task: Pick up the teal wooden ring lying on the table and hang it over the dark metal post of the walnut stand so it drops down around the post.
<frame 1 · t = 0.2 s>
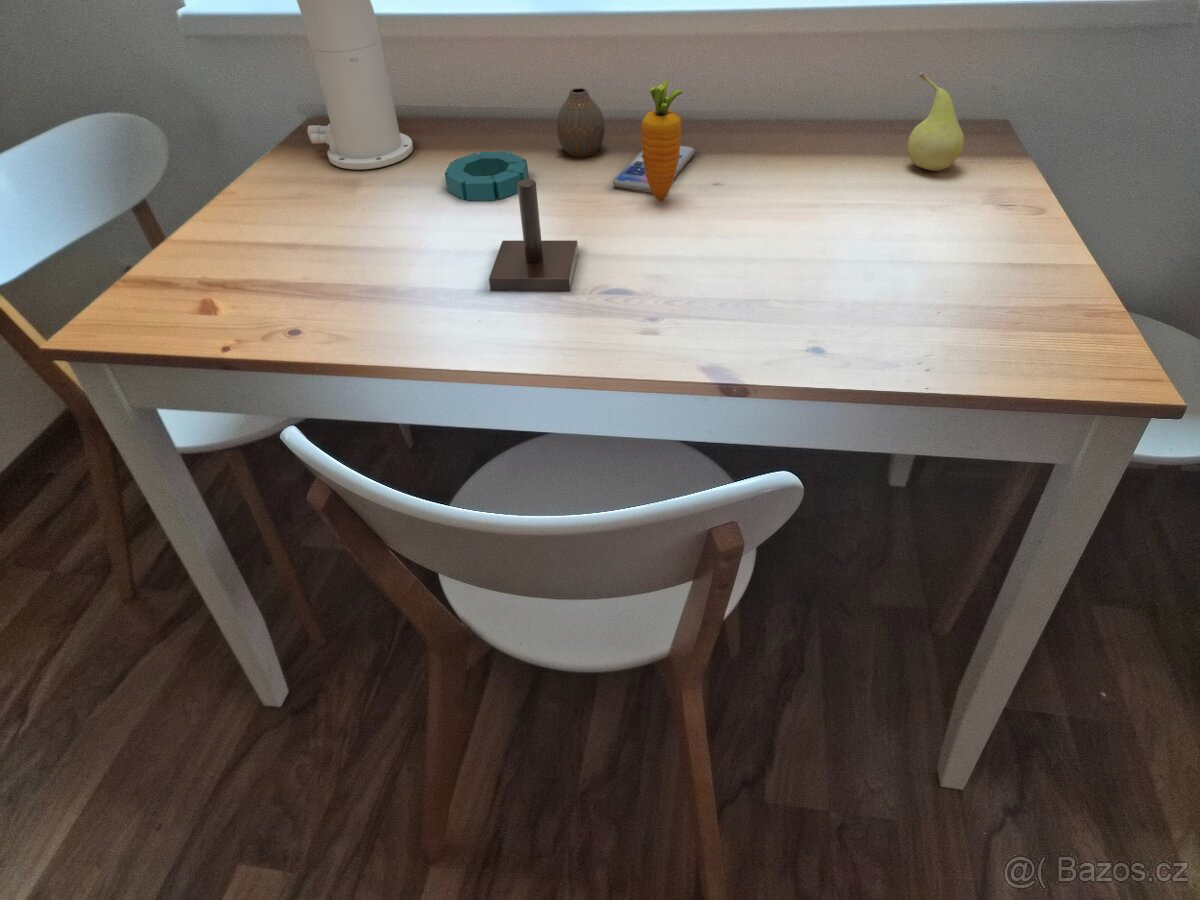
ring: (488, 183, 112), on the table
vase: (582, 153, 119), on the table
carrot: (660, 203, 106), on the table
smartphone: (655, 171, 113), on the table
fruit: (927, 170, 110), on the table
stand: (535, 270, 93), on the table
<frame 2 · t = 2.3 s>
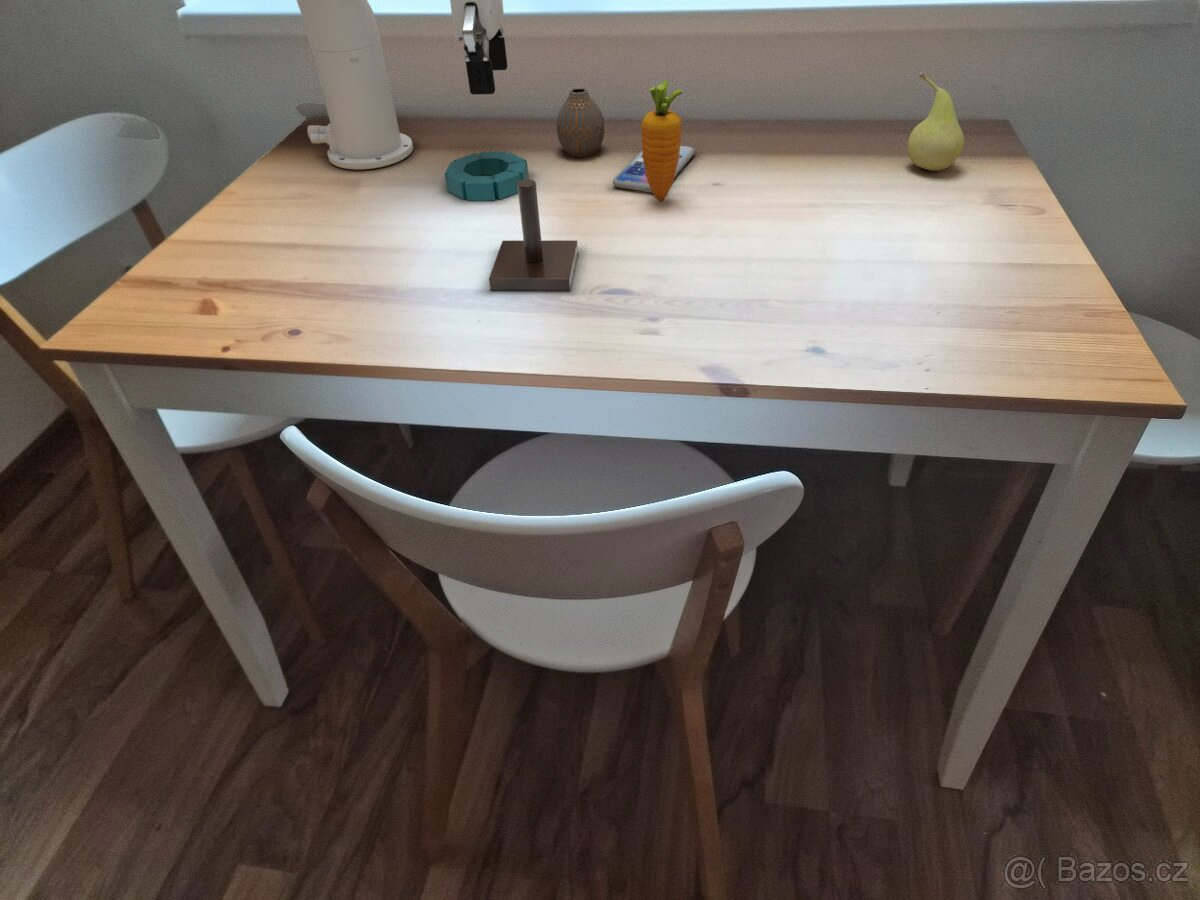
hand: (489, 81, 107), 12 cm above the table, tool pointing down, fingers open, 9 cm apart
nothing on the table moved.
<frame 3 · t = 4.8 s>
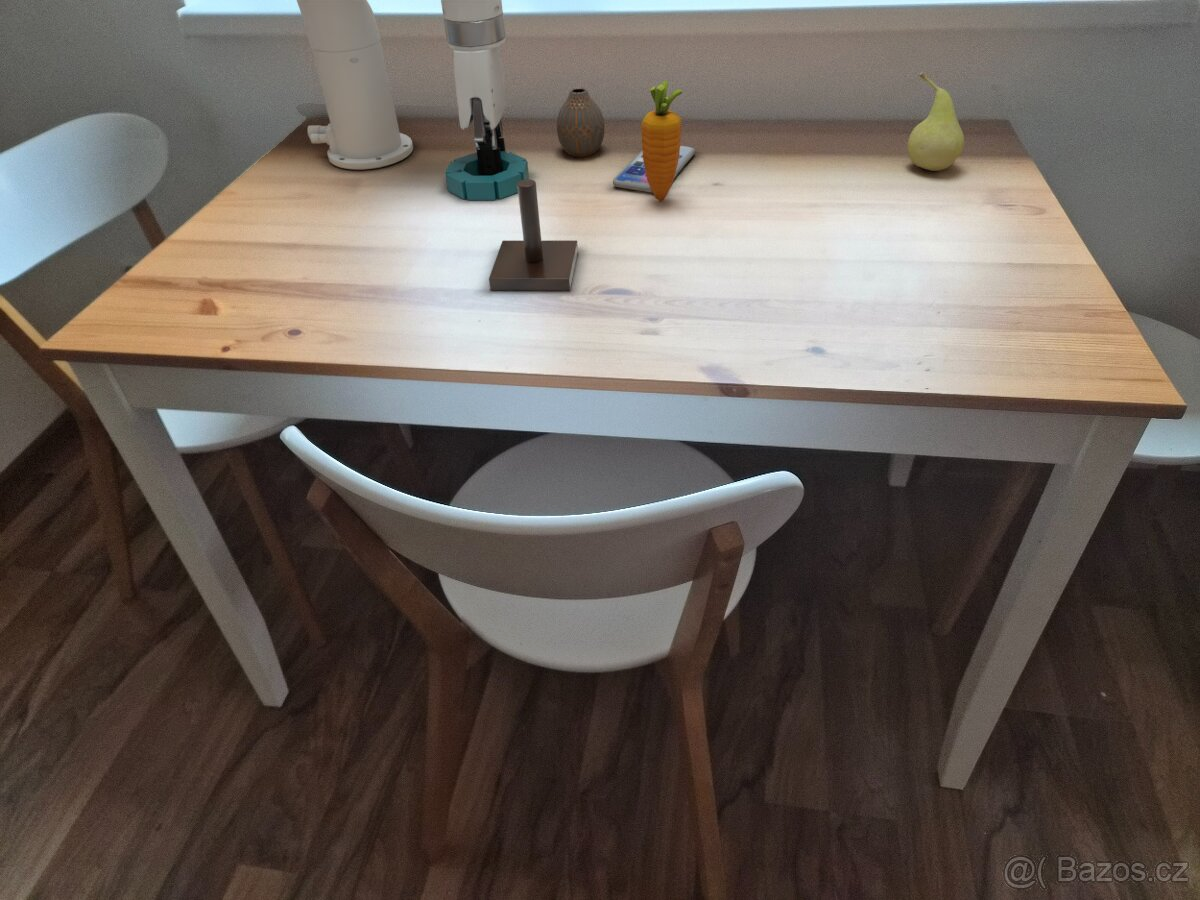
hand: (493, 170, 115), 0 cm above the table, tool pointing down, fingers closed on ring, 2 cm apart
ring: (488, 183, 112), on the table, touching gripper
everything else where it was.
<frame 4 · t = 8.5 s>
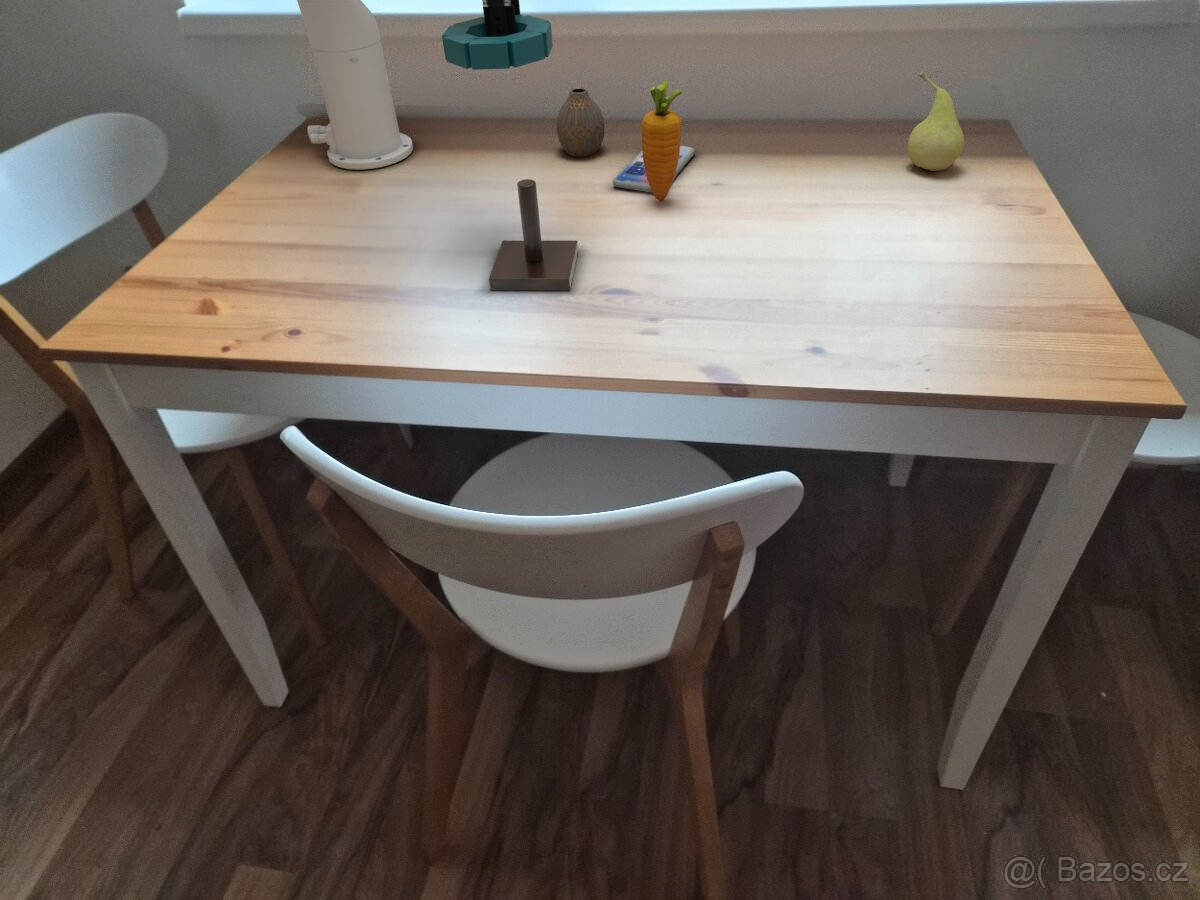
hand: (505, 41, 88), 22 cm above the table, tool pointing down, fingers closed on ring, 2 cm apart
ring: (499, 53, 85), point 21 cm above the table, touching gripper
everything else where it was.
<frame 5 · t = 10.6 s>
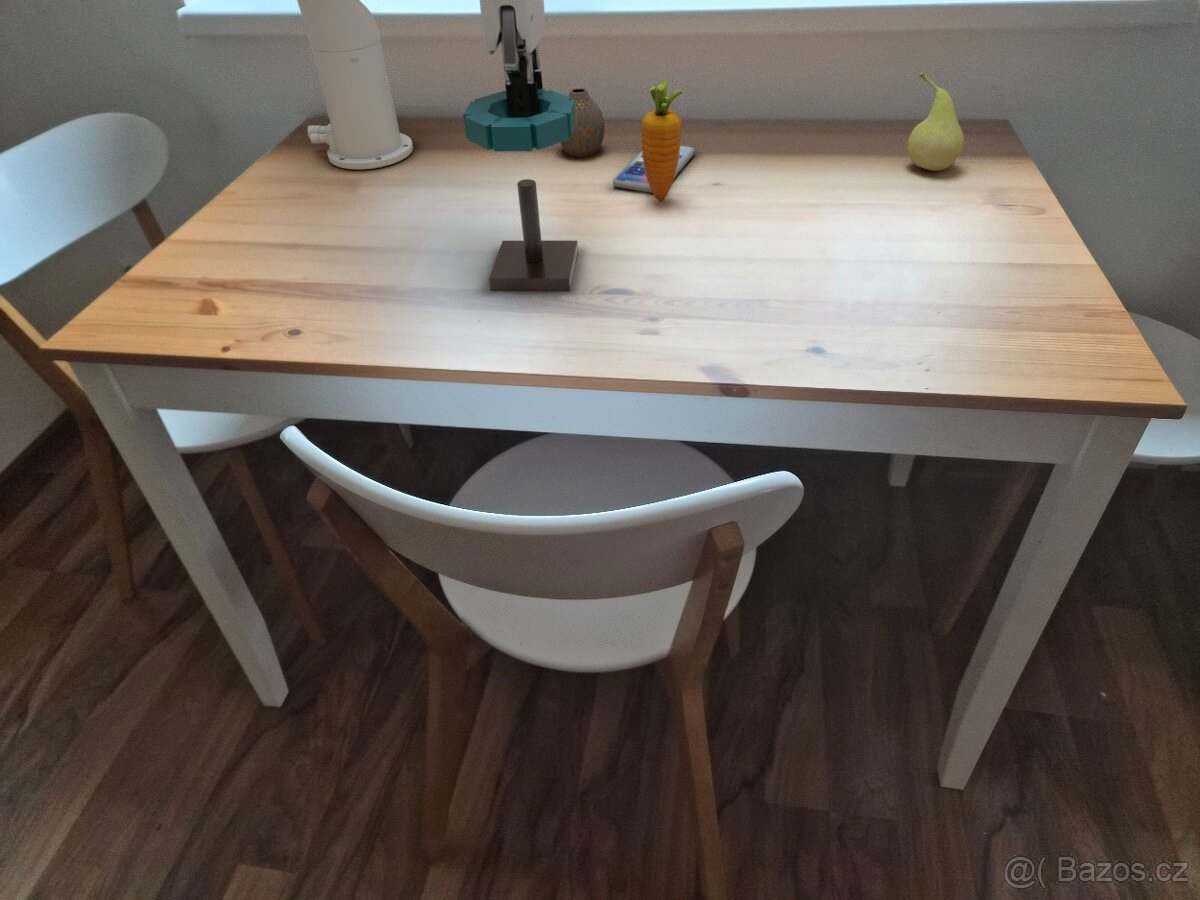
hand: (527, 115, 86), 16 cm above the table, tool pointing down, fingers closed on ring, 2 cm apart
ring: (521, 131, 83), point 16 cm above the table, touching gripper
everything else where it was.
when the fingers open (12 cm above the table, at t = 12.3 s): ring drops 10 cm, resting on stand.
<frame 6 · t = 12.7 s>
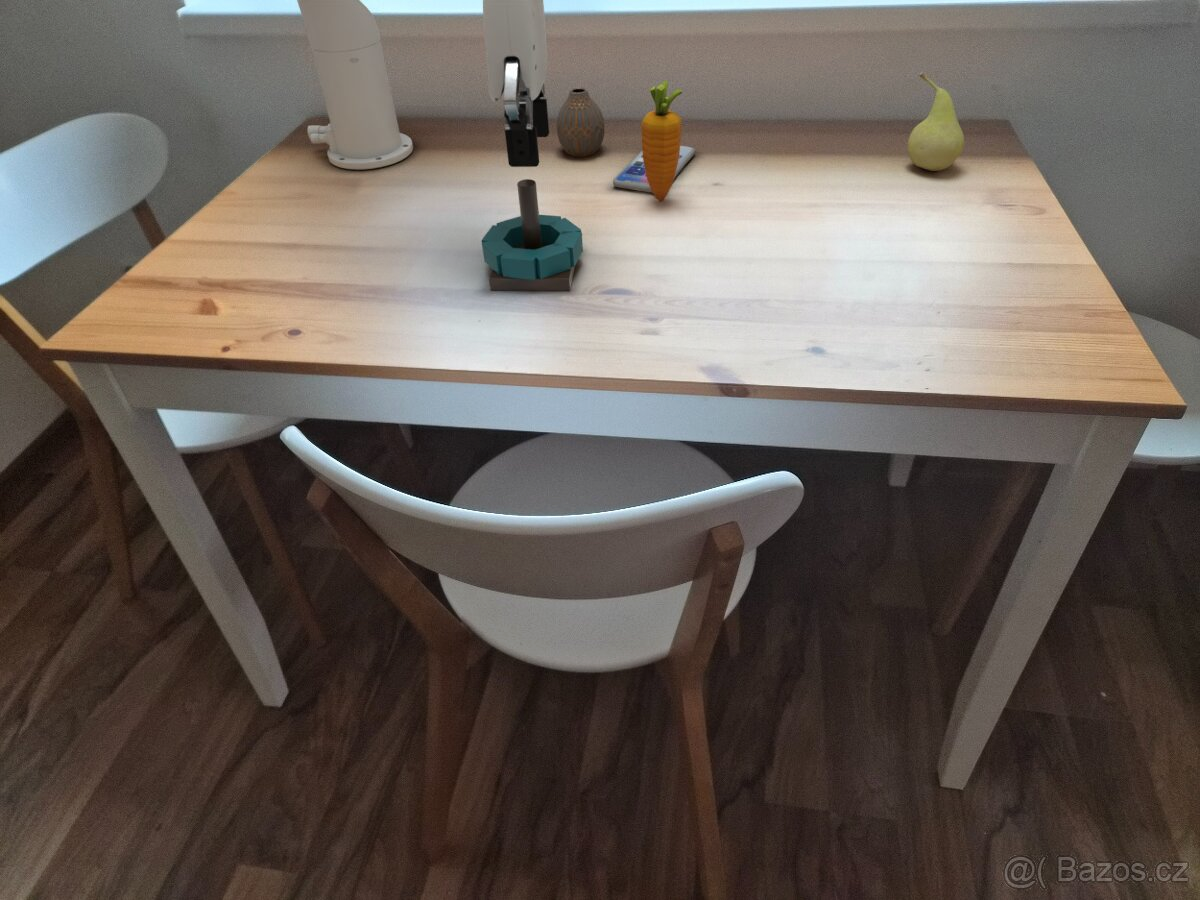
hand: (529, 149, 88), 12 cm above the table, tool pointing down, fingers open, 7 cm apart
ring: (533, 255, 93), point 1 cm above the table, touching stand
everything else where it was.
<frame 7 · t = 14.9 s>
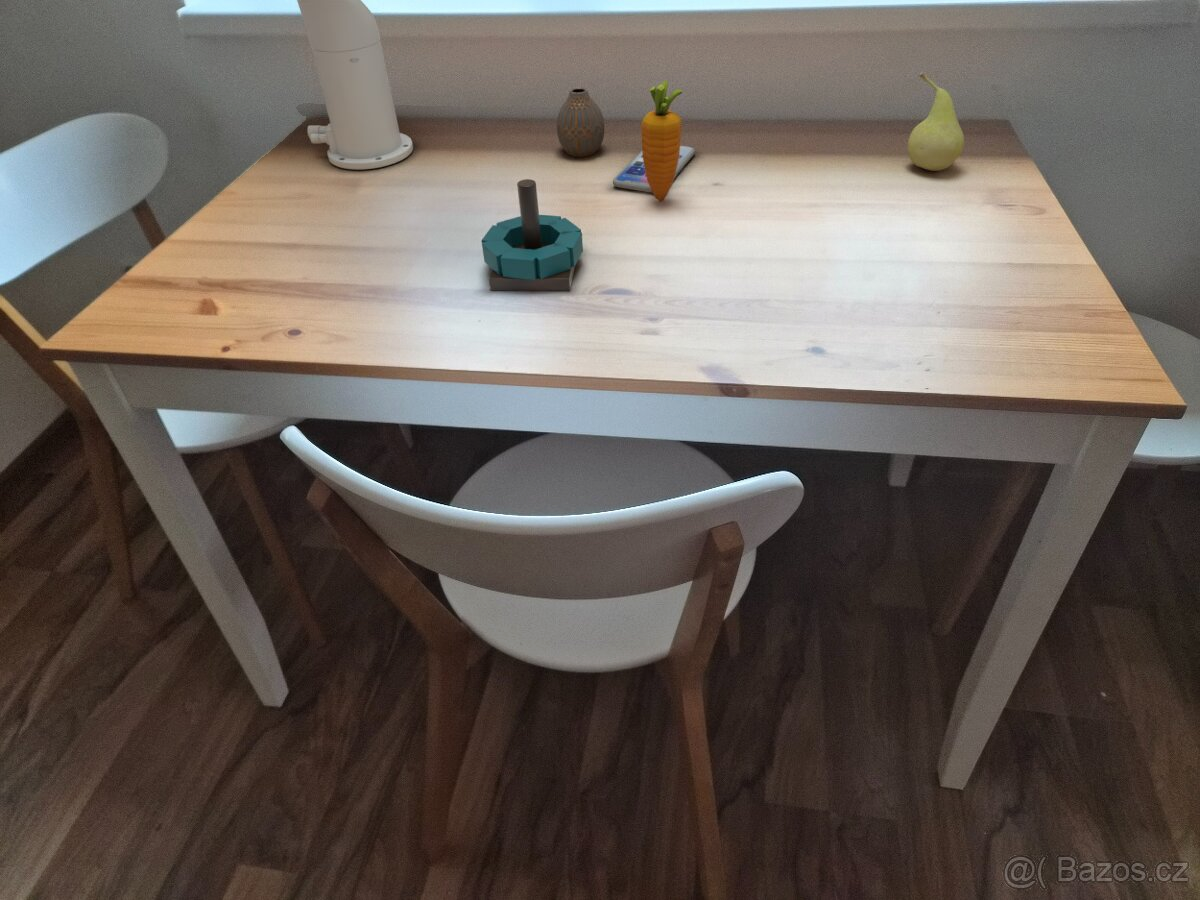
nothing on the table moved.
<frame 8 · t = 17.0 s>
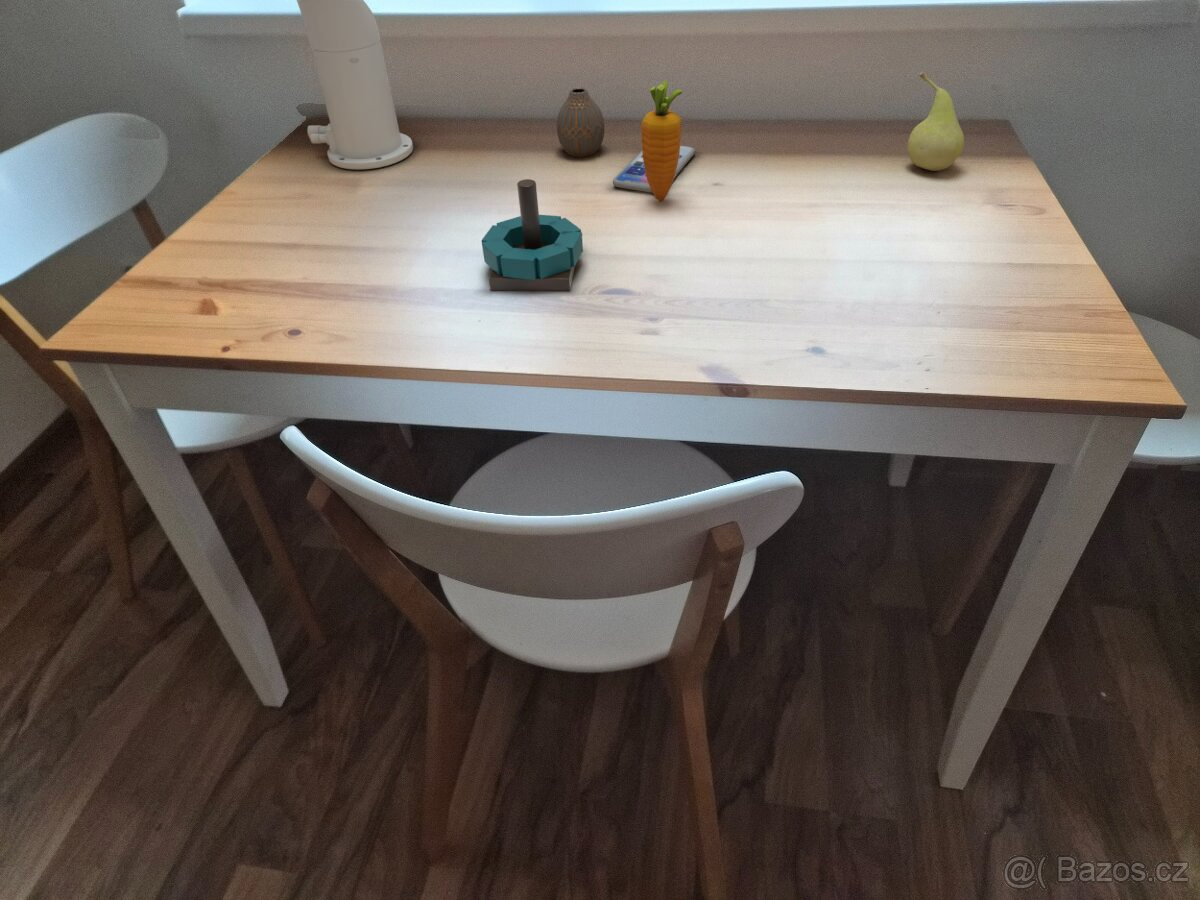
nothing on the table moved.
at the end: ring 0.9 cm from the stand (horizontally); ring 0.8 cm off-centre on the stand, point 1.5 cm above the stand's base; the gripper is holding nothing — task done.
